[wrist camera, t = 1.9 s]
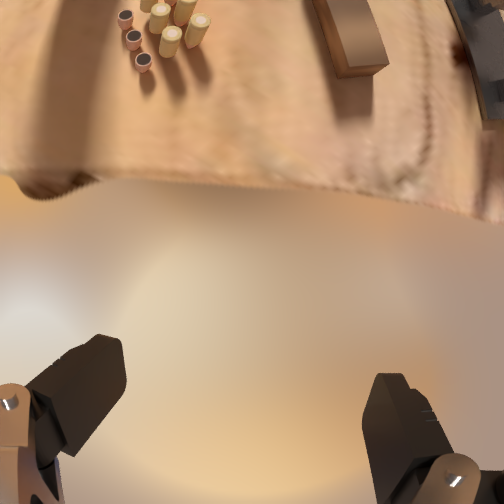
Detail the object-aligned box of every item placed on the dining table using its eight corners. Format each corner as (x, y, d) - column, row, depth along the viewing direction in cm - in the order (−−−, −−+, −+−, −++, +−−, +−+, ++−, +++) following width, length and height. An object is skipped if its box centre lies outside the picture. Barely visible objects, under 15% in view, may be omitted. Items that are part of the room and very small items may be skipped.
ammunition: (181, -36, 17) (99, 8, 18) (212, 22, 19) (121, 68, 20) (193, -13, 21) (121, 24, 23) (221, 41, 23) (143, 79, 25)
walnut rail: (301, -24, 20) (305, -47, 16) (335, -26, 20) (344, -48, 16) (337, 79, 24) (349, 66, 20) (372, 75, 23) (389, 63, 19)
